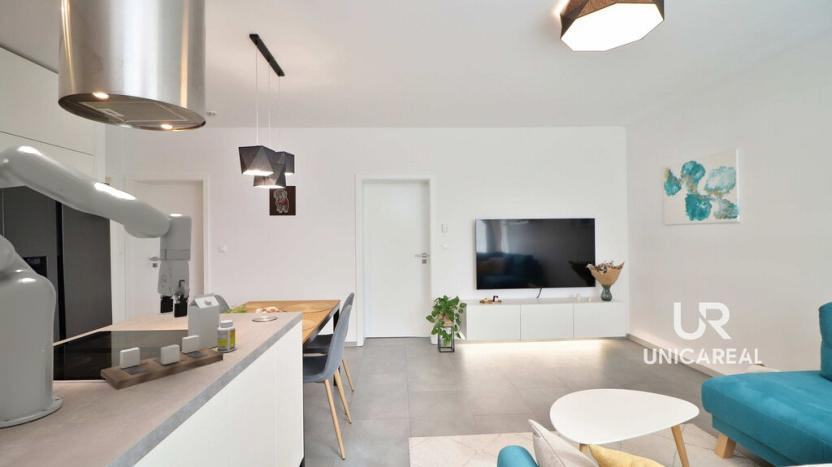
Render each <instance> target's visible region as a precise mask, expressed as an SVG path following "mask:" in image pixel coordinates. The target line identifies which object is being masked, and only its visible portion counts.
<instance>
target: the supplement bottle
mask: <svg viewBox="0 0 832 467" xmlns="http://www.w3.org/2000/svg"><path fill="white" fill-rule="evenodd" d="M216 348H217V349H216V350H217V352H220V353H229V352H233V351H234V350H236V326H235V325H234V321H233V319H224V320H221V321H219V328H218V329H217V346H216Z"/></svg>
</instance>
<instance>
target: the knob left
mask: <svg viewBox="0 0 832 467" xmlns="http://www.w3.org/2000/svg"><path fill="white" fill-rule="evenodd" d="M140 361H141V349H140V348H139V347H137V346H136V347H132V348H128V349H122V350H120V351H119V366H120V367H121V368H126V367H130V366H135V365H139V364H140Z"/></svg>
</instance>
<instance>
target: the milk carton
mask: <svg viewBox="0 0 832 467" xmlns="http://www.w3.org/2000/svg"><path fill="white" fill-rule="evenodd" d="M219 327H220V303H219V302H218V300H217V298H216V297H215V293H214V292H212V293H205V294H198V295H194V296H193V299H192V300H191V302H190V304H188V311H187V337H189V336H194V335H197V336H199V347H201V346H204V347H207V348H209V349H212V348H217V329H218V328H219Z"/></svg>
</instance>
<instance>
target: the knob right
mask: <svg viewBox="0 0 832 467" xmlns="http://www.w3.org/2000/svg"><path fill="white" fill-rule="evenodd" d="M181 339H182V340H181V341H182V342H181V351H182V352H184V353H189V352H193V351H197V350H199V336H197V335H194V336H189V337H188V336H185V337H182V338H181Z"/></svg>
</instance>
